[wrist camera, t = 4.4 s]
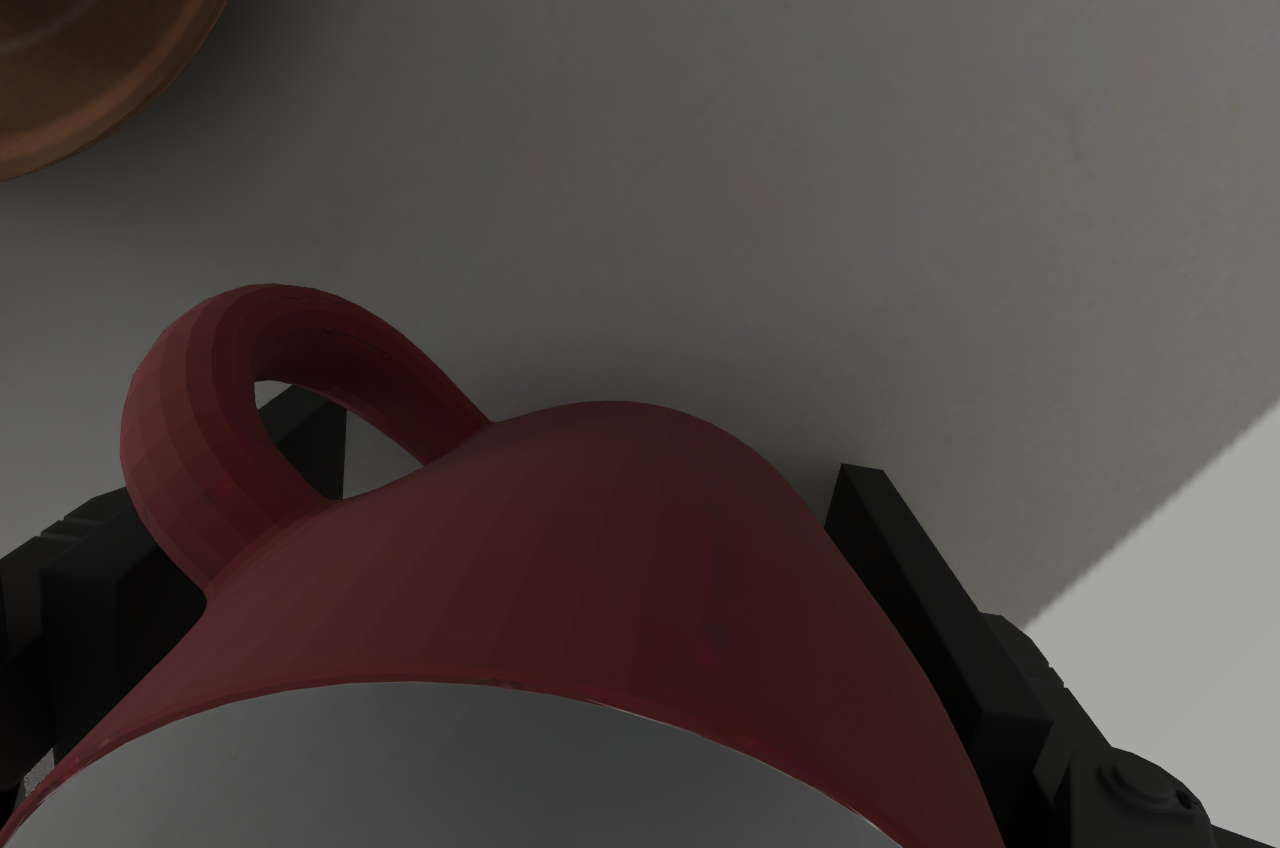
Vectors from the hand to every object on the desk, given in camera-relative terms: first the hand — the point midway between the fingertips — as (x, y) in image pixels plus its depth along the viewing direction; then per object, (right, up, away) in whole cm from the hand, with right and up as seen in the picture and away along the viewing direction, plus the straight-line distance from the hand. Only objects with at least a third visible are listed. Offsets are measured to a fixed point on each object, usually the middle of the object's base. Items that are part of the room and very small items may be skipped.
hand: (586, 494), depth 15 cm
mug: (0, 0, 0) cm, 1 cm away
